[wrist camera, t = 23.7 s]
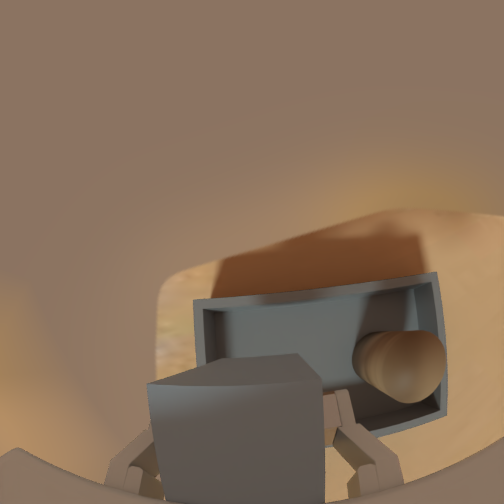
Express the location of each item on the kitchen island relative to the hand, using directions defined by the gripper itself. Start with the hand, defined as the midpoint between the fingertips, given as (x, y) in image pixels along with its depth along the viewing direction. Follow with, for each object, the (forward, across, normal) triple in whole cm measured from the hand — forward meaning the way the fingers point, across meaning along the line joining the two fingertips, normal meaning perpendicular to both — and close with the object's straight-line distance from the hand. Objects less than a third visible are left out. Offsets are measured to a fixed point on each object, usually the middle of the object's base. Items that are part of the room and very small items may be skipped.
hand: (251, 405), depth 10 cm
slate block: (+4, 0, +4) cm, 6 cm away
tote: (+11, -5, +12) cm, 17 cm away
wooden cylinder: (+10, -10, +11) cm, 18 cm away
